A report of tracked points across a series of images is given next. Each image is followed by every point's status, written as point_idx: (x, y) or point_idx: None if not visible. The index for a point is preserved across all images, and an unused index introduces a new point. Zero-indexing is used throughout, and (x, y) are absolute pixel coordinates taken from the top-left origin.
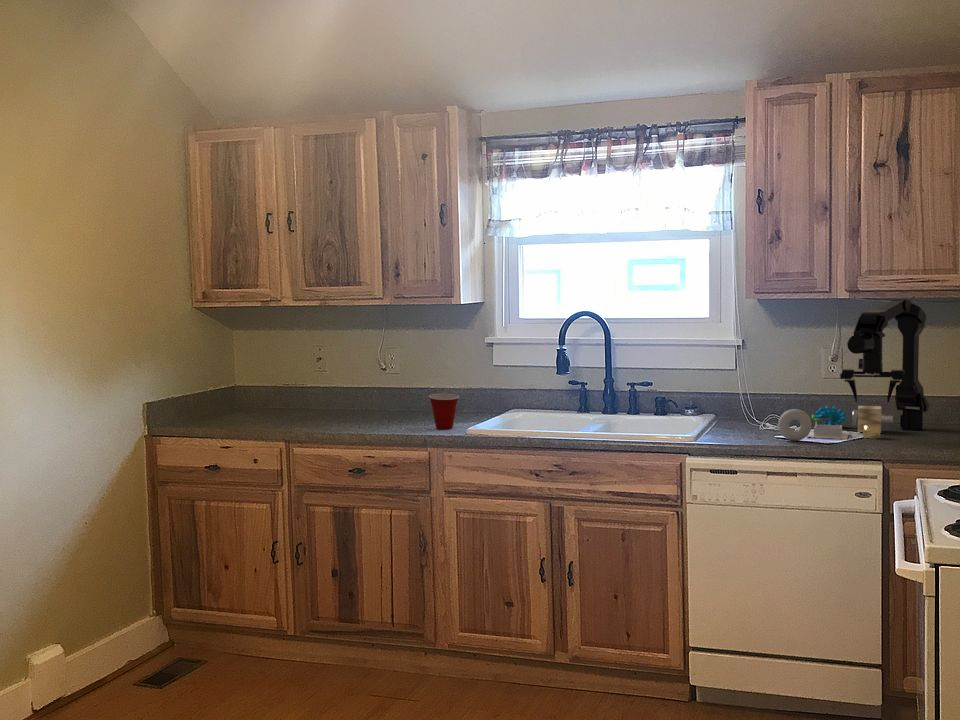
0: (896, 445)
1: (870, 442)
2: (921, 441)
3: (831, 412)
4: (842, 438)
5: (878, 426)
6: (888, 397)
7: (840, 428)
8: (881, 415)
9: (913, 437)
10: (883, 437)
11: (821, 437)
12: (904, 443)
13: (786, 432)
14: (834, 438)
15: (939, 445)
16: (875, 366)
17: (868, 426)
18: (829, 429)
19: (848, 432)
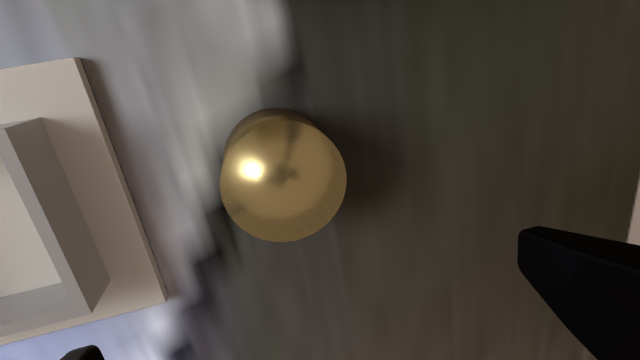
0: (426, 339)
1: (307, 319)
2: (527, 169)
3: None
4: (139, 305)
5: (337, 207)
6: (586, 330)
7: (86, 308)
8: None
9: (496, 25)
10: (336, 106)
11: (7, 341)
12: (455, 270)
13: None
14: (91, 316)
15: None
16: None
17: (273, 240)
18: (10, 328)
19: (70, 58)
